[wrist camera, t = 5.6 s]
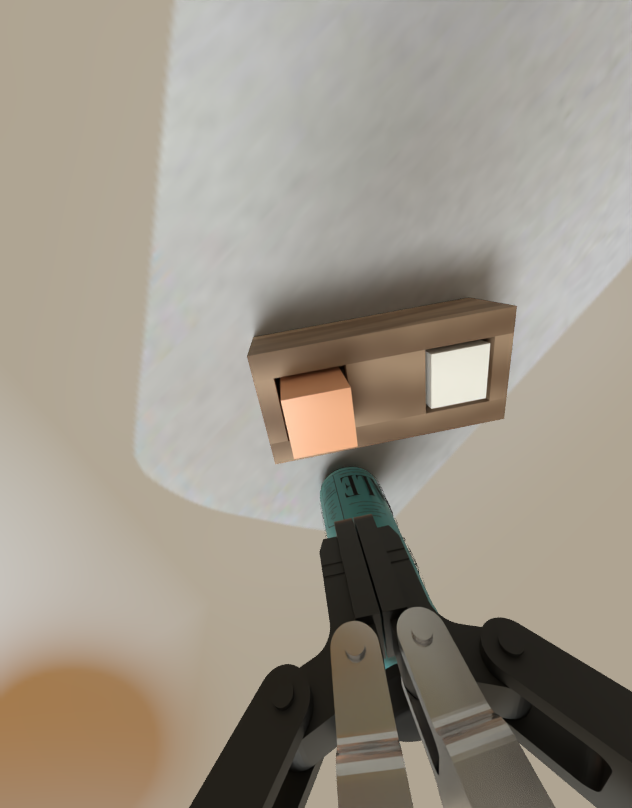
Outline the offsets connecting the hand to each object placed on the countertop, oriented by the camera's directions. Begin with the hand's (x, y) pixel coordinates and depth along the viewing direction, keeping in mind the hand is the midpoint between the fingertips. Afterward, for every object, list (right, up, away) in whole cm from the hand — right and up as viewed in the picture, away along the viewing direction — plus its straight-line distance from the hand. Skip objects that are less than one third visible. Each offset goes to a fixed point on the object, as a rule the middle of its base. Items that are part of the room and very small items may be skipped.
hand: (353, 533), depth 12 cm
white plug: (+9, +9, +16) cm, 20 cm away
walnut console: (+3, +8, +17) cm, 19 cm away
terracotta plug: (-2, +6, +13) cm, 14 cm away
